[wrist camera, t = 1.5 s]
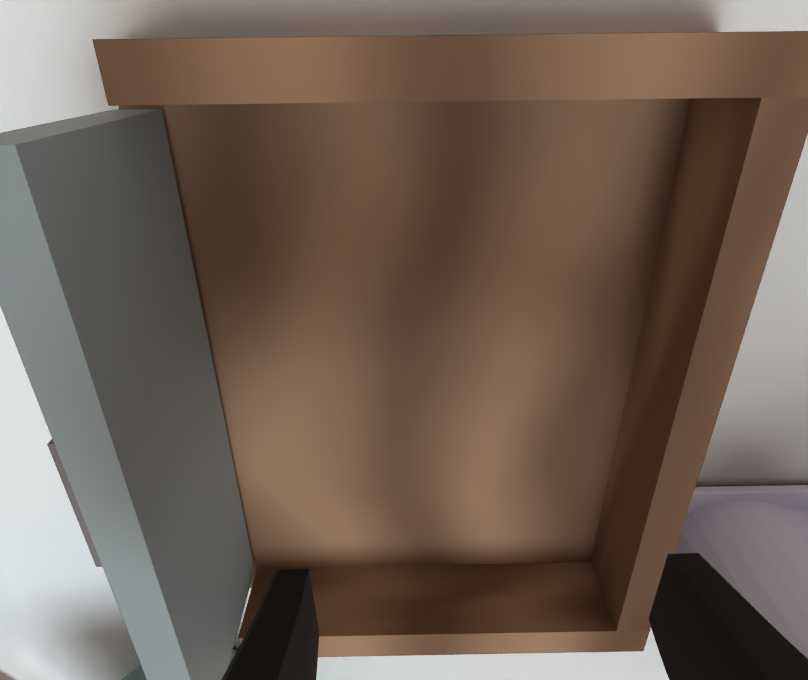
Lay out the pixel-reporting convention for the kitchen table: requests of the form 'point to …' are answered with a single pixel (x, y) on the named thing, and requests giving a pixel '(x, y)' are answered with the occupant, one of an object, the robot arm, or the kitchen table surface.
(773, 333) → the kitchen table surface
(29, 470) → the kitchen table surface
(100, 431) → the panel
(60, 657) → the kitchen table surface
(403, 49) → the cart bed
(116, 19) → the kitchen table surface
